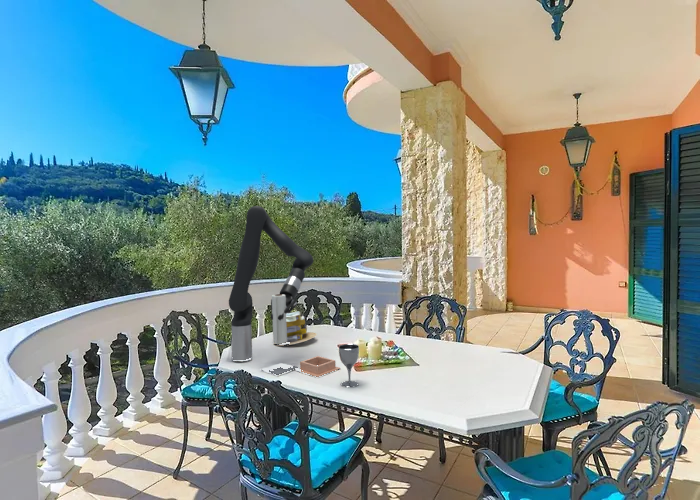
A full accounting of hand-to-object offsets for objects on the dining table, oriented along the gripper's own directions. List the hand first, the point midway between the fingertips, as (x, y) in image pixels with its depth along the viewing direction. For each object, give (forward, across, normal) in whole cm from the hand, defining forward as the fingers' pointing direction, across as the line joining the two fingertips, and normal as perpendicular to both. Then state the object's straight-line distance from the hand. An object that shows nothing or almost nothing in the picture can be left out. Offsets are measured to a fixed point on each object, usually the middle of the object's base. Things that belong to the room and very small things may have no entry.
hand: (275, 319), depth 173 cm
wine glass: (+18, +36, +15) cm, 43 cm away
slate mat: (+15, 0, +18) cm, 23 cm away
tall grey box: (+6, 0, +9) cm, 11 cm away
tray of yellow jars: (-15, -21, +48) cm, 55 cm away
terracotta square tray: (+11, +16, +22) cm, 29 cm away
